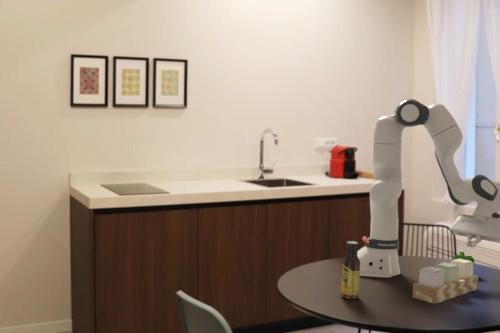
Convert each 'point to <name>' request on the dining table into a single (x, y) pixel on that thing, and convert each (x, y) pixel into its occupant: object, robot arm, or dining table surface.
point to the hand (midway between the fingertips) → (470, 245)
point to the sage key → (449, 272)
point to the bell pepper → (464, 257)
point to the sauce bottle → (350, 272)
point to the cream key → (464, 267)
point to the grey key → (431, 277)
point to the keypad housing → (445, 290)
